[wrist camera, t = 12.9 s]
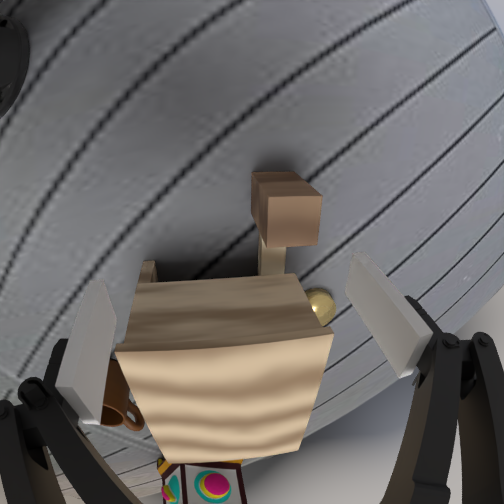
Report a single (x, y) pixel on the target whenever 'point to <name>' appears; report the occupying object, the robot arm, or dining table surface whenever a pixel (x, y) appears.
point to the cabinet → (223, 364)
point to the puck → (321, 304)
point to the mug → (119, 401)
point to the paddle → (283, 216)
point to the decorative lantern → (202, 482)
